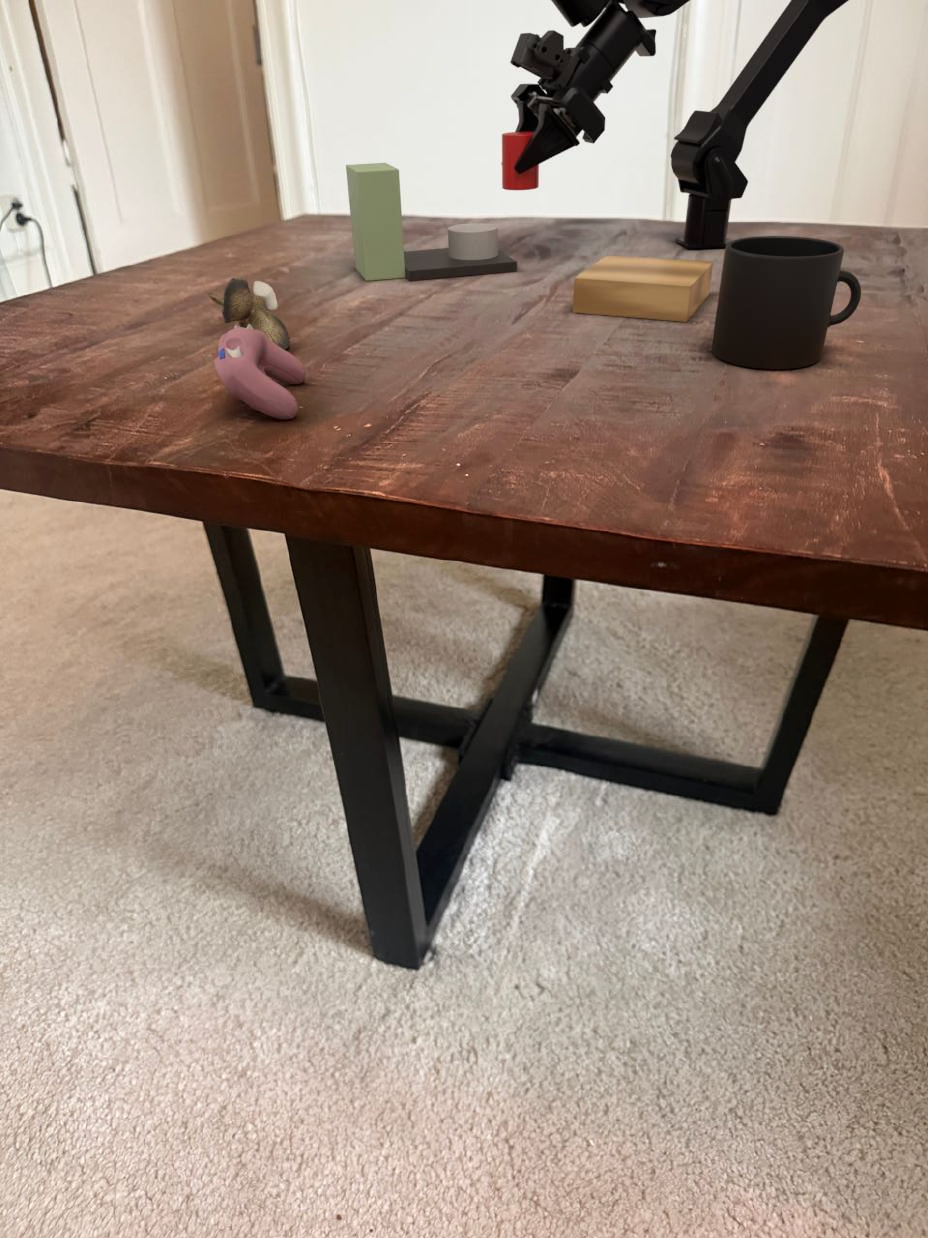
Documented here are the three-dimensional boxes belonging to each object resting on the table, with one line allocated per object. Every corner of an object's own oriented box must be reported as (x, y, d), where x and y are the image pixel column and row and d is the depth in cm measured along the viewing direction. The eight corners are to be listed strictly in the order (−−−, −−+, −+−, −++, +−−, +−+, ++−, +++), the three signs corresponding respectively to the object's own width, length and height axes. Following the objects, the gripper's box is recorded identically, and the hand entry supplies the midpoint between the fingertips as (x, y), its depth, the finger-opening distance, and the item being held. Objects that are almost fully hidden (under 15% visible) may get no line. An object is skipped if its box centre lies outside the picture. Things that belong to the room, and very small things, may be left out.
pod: (500, 186, 108) (499, 132, 105) (535, 184, 109) (536, 130, 105) (504, 190, 104) (504, 135, 101) (541, 189, 105) (542, 133, 101)
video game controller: (267, 400, 73) (216, 328, 69) (311, 374, 72) (262, 300, 69) (253, 443, 65) (195, 365, 61) (302, 415, 64) (247, 333, 60)
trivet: (604, 287, 98) (606, 255, 96) (708, 294, 94) (713, 261, 92) (572, 312, 89) (574, 277, 87) (686, 322, 85) (690, 285, 83)
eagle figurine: (190, 329, 83) (206, 333, 75) (216, 259, 82) (235, 256, 74) (263, 362, 87) (285, 369, 79) (288, 296, 86) (313, 296, 78)
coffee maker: (489, 253, 116) (488, 154, 109) (517, 271, 106) (518, 163, 99) (352, 265, 112) (343, 163, 105) (369, 284, 102) (359, 173, 95)
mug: (867, 369, 71) (895, 255, 66) (724, 371, 72) (741, 258, 66) (829, 337, 79) (852, 233, 74) (701, 340, 79) (714, 236, 74)
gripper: (526, 6, 104) (444, 114, 108) (584, -3, 89) (487, 123, 93) (582, 78, 110) (503, 178, 114) (646, 81, 95) (552, 196, 99)
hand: (509, 169), depth 105 cm, fingers closed on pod, 4 cm apart
